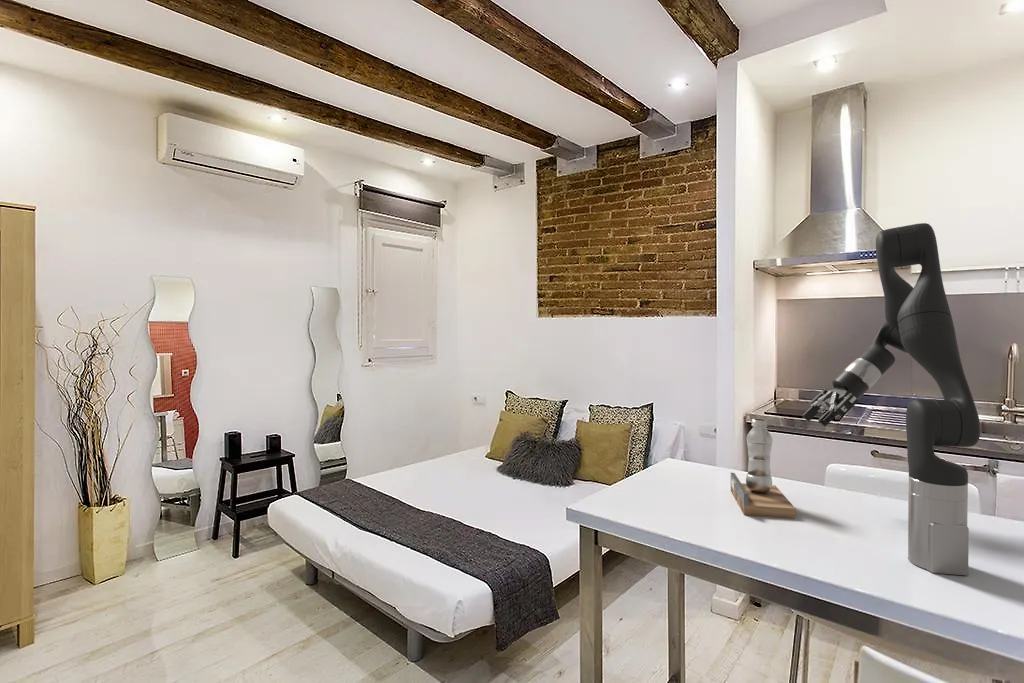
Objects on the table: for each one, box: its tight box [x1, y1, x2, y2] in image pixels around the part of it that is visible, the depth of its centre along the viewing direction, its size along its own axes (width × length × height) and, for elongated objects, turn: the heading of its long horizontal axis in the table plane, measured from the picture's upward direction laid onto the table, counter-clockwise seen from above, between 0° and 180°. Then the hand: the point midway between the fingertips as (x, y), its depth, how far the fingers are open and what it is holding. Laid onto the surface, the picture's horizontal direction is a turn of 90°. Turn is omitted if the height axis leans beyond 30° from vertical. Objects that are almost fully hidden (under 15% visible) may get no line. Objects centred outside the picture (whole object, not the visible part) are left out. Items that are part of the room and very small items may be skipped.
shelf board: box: [730, 482, 796, 519], centre depth 142 cm, size 20×12×2 cm, turn 166°
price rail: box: [730, 472, 748, 505], centre depth 144 cm, size 20×2×3 cm, turn 166°
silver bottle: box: [745, 418, 773, 492], centre depth 145 cm, size 6×7×20 cm
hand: (813, 421), depth 142 cm, fingers open, 8 cm apart
